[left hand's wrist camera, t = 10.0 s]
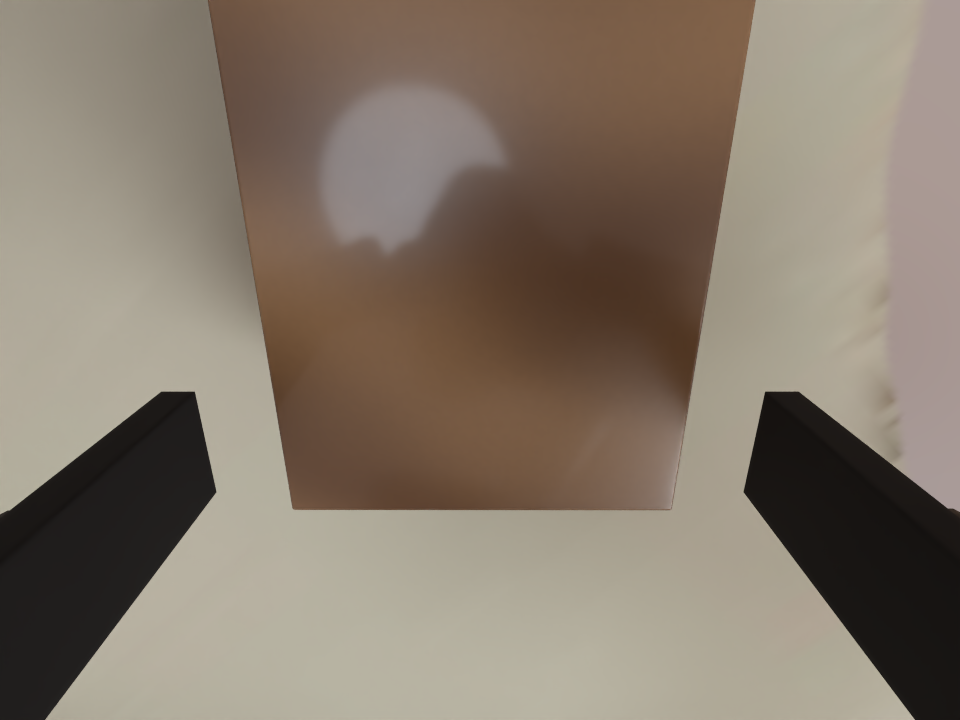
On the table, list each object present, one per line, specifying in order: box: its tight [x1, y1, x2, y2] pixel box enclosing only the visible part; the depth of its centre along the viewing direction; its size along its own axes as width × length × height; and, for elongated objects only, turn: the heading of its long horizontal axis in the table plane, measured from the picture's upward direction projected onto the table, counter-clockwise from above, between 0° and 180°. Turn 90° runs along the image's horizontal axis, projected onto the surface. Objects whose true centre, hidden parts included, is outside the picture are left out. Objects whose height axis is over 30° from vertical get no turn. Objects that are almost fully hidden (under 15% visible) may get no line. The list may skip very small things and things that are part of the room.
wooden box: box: [208, 0, 755, 510], centre depth 15 cm, size 18×10×8 cm, turn 0°
